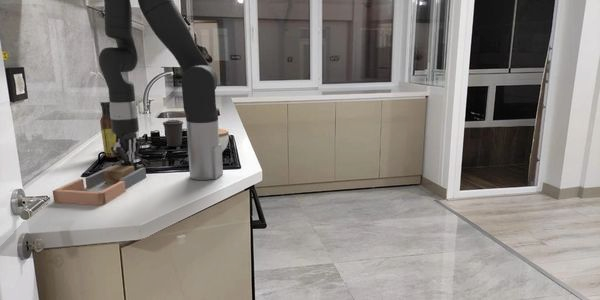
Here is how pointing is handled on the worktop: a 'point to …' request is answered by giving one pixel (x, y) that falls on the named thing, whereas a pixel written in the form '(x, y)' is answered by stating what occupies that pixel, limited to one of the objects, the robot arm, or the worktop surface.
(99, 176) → the tunnel
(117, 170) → the walnut block
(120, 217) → the worktop surface
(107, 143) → the sauce bottle
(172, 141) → the coffee cup
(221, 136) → the lidded jar
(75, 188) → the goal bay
